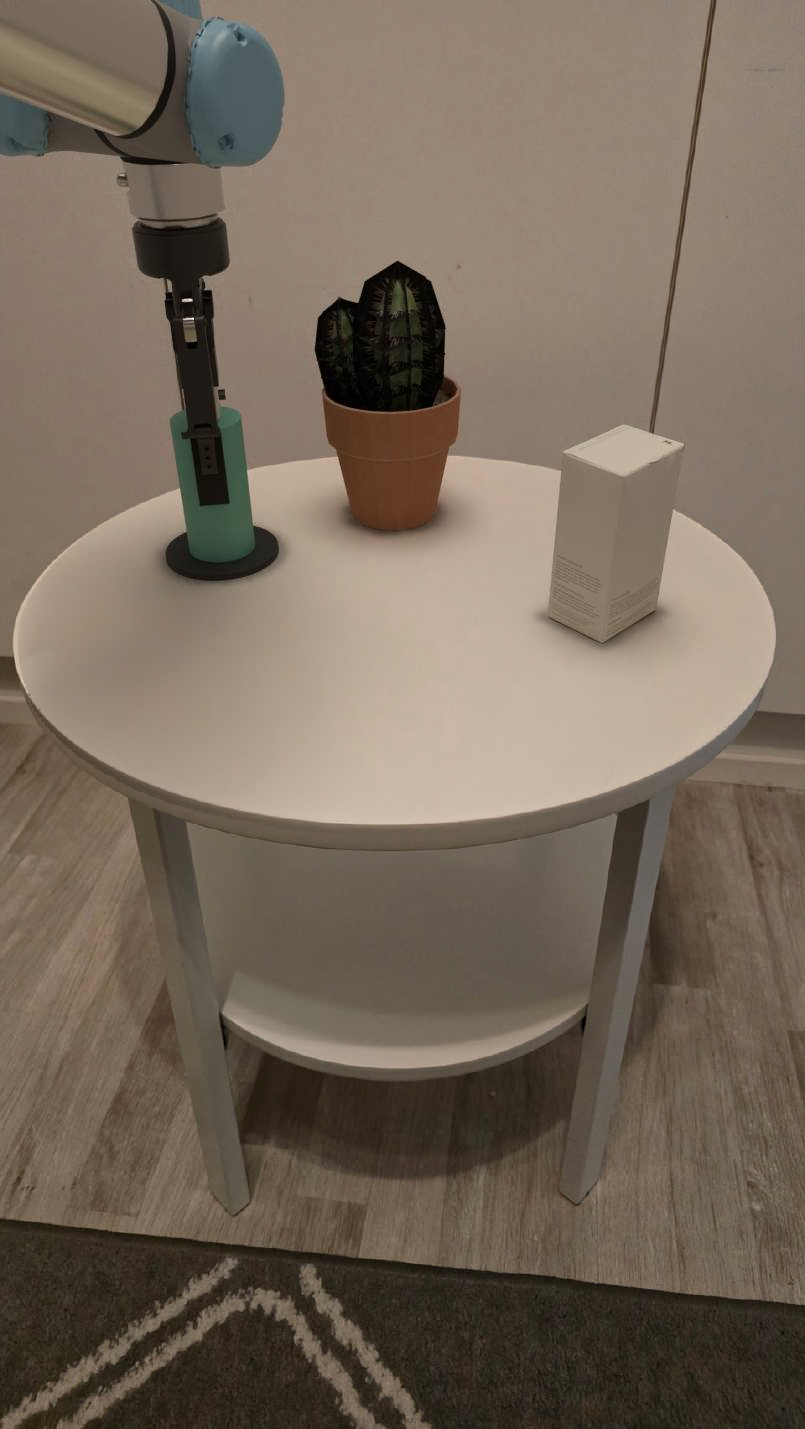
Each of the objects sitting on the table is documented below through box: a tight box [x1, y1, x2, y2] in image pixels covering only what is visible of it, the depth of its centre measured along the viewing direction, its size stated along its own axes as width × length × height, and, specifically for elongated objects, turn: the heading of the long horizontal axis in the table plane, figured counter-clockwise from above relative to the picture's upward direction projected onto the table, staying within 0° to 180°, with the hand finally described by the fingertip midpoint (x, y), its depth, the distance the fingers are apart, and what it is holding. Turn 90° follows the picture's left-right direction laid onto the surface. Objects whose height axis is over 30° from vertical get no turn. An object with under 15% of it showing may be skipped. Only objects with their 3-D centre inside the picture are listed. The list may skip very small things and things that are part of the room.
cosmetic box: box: [547, 423, 685, 644], centre depth 82 cm, size 8×7×16 cm
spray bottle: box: [169, 323, 255, 563], centre depth 90 cm, size 7×6×21 cm
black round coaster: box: [164, 524, 280, 581], centre depth 97 cm, size 11×11×1 cm
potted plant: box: [314, 260, 462, 531], centre depth 96 cm, size 14×14×25 cm
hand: (214, 486), depth 93 cm, fingers open, 7 cm apart
